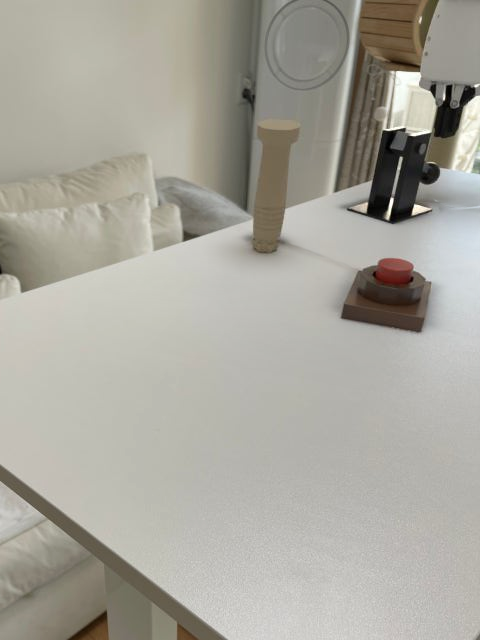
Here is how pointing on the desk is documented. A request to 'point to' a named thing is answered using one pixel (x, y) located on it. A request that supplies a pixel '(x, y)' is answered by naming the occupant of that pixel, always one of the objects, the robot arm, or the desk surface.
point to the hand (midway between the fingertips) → (444, 136)
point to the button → (394, 271)
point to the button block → (387, 301)
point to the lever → (430, 168)
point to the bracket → (407, 182)
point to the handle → (272, 181)
